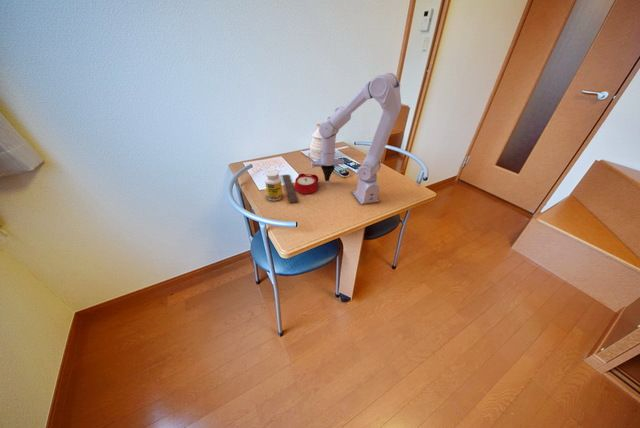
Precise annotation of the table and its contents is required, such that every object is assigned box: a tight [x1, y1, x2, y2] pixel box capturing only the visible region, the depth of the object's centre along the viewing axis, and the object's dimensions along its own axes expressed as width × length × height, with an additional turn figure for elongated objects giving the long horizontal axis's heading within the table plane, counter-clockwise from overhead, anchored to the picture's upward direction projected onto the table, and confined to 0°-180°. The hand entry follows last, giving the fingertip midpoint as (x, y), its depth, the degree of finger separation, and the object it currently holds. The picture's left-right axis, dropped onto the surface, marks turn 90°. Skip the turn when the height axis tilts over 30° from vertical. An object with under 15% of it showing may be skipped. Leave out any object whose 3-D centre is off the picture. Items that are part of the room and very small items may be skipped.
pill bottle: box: [264, 170, 283, 202], centre depth 88 cm, size 6×6×11 cm
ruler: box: [282, 174, 299, 204], centre depth 97 cm, size 24×3×1 cm, turn 16°
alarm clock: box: [293, 173, 319, 196], centre depth 98 cm, size 10×6×15 cm
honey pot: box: [309, 121, 322, 160], centre depth 124 cm, size 13×13×18 cm
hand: (326, 180), depth 100 cm, fingers closed
